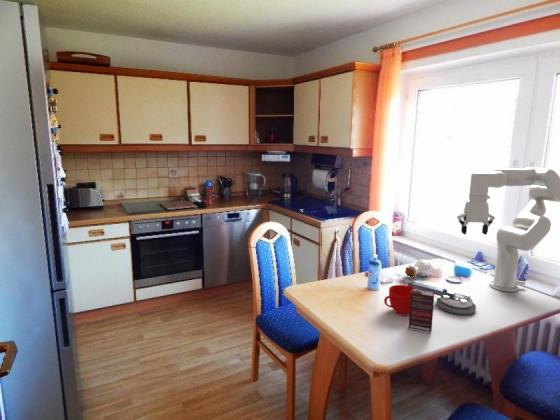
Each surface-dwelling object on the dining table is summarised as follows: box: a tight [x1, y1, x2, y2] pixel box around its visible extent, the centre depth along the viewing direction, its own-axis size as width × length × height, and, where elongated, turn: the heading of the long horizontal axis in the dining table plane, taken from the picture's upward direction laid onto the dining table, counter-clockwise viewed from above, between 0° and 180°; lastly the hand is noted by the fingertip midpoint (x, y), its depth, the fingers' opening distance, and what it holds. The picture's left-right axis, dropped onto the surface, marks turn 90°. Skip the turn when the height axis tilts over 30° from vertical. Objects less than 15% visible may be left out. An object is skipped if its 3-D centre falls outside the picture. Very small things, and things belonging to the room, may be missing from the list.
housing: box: [434, 295, 477, 317], centre depth 167 cm, size 16×16×2 cm
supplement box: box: [408, 289, 435, 334], centre depth 147 cm, size 9×5×16 cm, turn 65°
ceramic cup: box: [383, 284, 416, 316], centre depth 161 cm, size 13×17×10 cm
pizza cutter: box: [407, 280, 474, 309], centre depth 171 cm, size 13×28×5 cm, turn 51°
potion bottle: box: [404, 258, 433, 278], centre depth 204 cm, size 9×10×15 cm
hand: (474, 233), depth 177 cm, fingers open, 9 cm apart
